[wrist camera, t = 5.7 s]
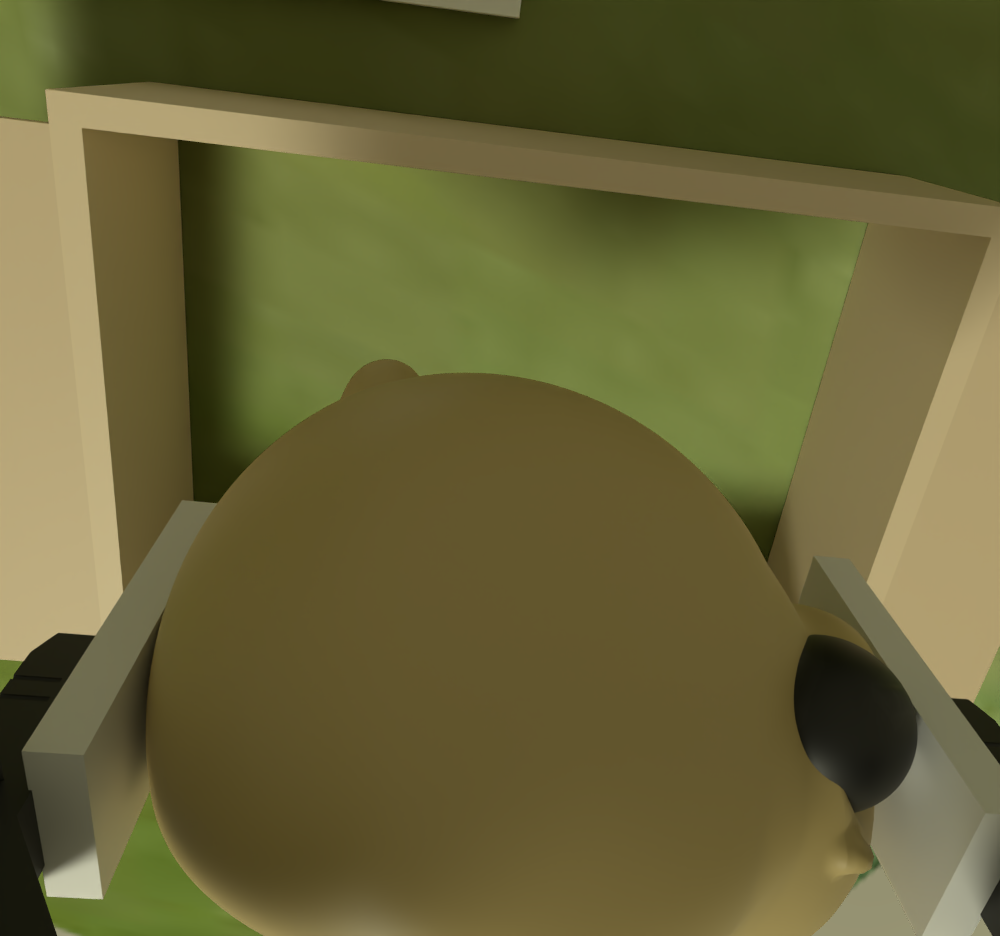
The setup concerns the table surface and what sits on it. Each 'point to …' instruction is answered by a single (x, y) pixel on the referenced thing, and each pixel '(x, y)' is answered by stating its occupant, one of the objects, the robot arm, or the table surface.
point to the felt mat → (472, 6)
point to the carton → (499, 154)
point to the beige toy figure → (506, 685)
